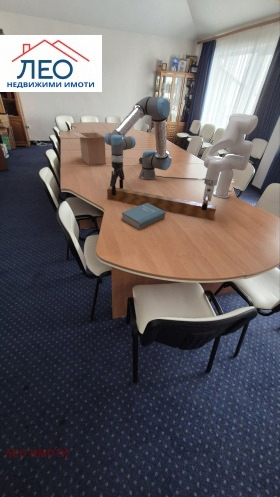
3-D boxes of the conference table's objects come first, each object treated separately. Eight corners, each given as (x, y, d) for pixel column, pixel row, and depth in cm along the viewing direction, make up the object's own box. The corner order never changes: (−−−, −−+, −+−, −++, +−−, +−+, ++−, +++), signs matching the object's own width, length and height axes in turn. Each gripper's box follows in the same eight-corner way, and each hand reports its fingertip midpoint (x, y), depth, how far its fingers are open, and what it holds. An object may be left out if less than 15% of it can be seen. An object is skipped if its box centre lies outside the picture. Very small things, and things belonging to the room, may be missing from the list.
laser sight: (158, 166, 235) (159, 156, 229) (137, 164, 238) (138, 154, 232) (159, 164, 243) (160, 154, 237) (139, 161, 245) (140, 152, 239)
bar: (107, 199, 162) (106, 188, 157) (110, 196, 166) (109, 186, 161) (213, 220, 146) (216, 209, 141) (213, 216, 149) (216, 206, 145)
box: (116, 165, 229) (116, 136, 213) (83, 168, 214) (80, 137, 198) (102, 154, 259) (101, 128, 243) (71, 156, 244) (68, 129, 228)
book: (146, 209, 152) (147, 202, 149) (164, 218, 143) (165, 211, 140) (121, 219, 138) (121, 212, 135) (139, 230, 130) (139, 222, 127)
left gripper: (115, 167, 135) (115, 199, 148) (129, 157, 155) (128, 186, 167) (103, 165, 137) (105, 197, 150) (119, 155, 156) (119, 184, 169)
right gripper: (216, 187, 127) (209, 213, 138) (217, 177, 140) (211, 202, 151) (203, 185, 129) (197, 211, 139) (205, 175, 142) (200, 200, 152)
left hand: (117, 191), depth 159 cm, fingers open, 13 cm apart
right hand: (204, 206), depth 145 cm, fingers open, 9 cm apart
